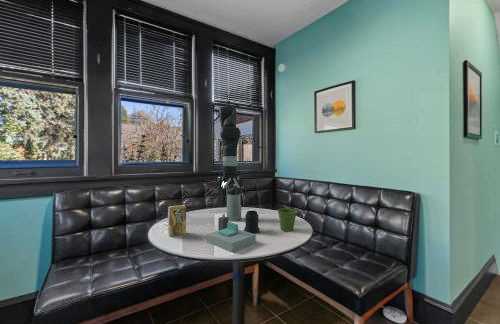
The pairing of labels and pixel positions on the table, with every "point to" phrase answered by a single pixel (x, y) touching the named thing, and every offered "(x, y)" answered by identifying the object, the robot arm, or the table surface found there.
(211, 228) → the table surface
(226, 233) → the shutter
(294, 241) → the table surface
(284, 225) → the plant pot
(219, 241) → the socket plate
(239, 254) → the table surface
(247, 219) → the mug
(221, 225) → the plug
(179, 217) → the candy box
